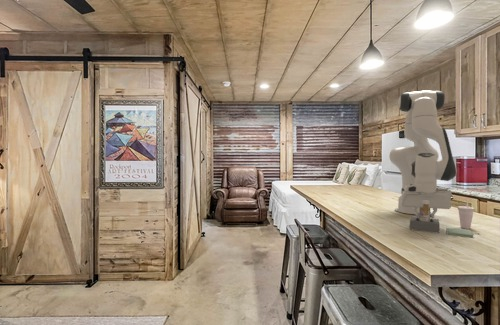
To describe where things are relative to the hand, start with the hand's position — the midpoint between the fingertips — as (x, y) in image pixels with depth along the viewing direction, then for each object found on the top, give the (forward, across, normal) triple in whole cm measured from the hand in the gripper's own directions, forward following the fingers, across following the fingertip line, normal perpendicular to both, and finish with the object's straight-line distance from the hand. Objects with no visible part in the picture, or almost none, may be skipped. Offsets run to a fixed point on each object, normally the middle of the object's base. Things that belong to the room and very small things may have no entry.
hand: (424, 217), depth 134 cm
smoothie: (+6, -18, -8) cm, 21 cm away
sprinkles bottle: (+5, 0, 0) cm, 5 cm away
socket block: (+5, 0, 0) cm, 5 cm away
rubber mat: (+5, -12, +4) cm, 14 cm away
